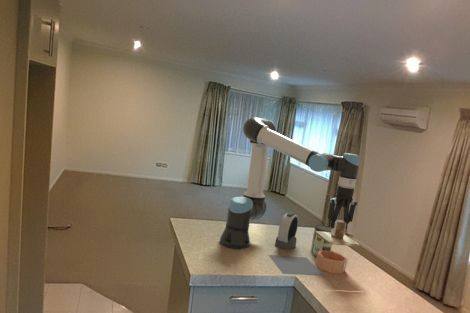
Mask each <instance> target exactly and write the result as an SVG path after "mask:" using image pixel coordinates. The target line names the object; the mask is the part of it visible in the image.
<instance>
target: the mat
mask: <svg viewBox="0 0 470 313" xmlns="http://www.w3.org/2000/svg"><path fill="white" fill-rule="evenodd" d="M268 257H269V258H270V259H271V261H272V262H273V263H274V264H275V265H276V267H277V268H278V270H280V272H281V273H282V274H284V275H300V276H301V275H302V276H303V275H304V276H321V277H322V276H323V277H326V276H325V274H324V273H323V272H321V269H319V268H317V266H316V265H315V264H313V262H312V261H311V260H310V259H309V258H308V257H304V256H291V255H290V256H289V255H274V254H268Z"/></svg>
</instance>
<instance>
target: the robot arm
mask: <svg viewBox="0 0 470 313" xmlns="http://www.w3.org/2000/svg"><path fill="white" fill-rule="evenodd" d="M242 131H243V134H244V136H245V137H246V138H247V139H248V140H249V145H250V146H251V154H250V162H249V169H248V170H249V172H248V180H247V187H246V191H244V192H243V196H234V197H232V198H231V199H230V201H229V202H228V203H229V204H228V209H227V216H226V223H225V227H224V229H223V232H222V233H221V235H220V238H219V243H220V244H221V245H222V246H224V247H227V248H229V249H233V250H234V249H236V250H242V249H243V250H245V249H248V248H249V247H250V244H251V241H250V233H249V228H250V223H251V222H253V221H255V220H256V221H257V220H259V219H261V218H263V217H264V216H265V215H266V213H267V210H268V204H267V202H266V195H265V194H264V186H265V178H266V171H267V170H266V169H267V161H268V152H269V148H271V149H274V150H275V151H277V152H279V153H281V154H284V155H285V156H287V157H289V158H291V159H293V160H296V161H297V162H299V163H301V164H304V165H305V166H307V167H308V168H310V169H311V171H313V172H317V173H320V172H324V171H331V172H337V173H339V179H338V181H337V184H338V186H337V187H336V188H337V189H336V195H335V197H333V198H332V197H329V209H328V216H327V218H328V220H330V227H331V228H332V229H331V234H332V235H333V236H335V232H336V227H337V222H336V220H338V216H339V214H340V212H341V209H342V208H343V221H344V222H345V223H346V225H345V230H344V234H345V233H346V232H345V231H346V230H347V228H348V225H349V223H352V222H353V220H354V219H353V218H354V216H355V215H354V214H355V210H356V206H357V205H358V201H357V200H356V201H355V200H353V197H354V193H355V189H354V188H355V187H356V184H357V182H356V181H357V178H358V177H357V176H358V171H359V167H360V161H361V159H360V158H361V157H360V155H359V154H354V153H349V152H344V153H343V155H342V156H340V155H337V154H336V155H335V154H332V153H331V154H330V153H326V152H318V151H315V150H314V149H312V148H309V147H307V146H305V145H303V144H301V143H299V142H297V141H295V140H293V139H291V138H289V137H287V136H285V135H282V134H281V133H279V132H277V131H278V129H277V126H276V124H275V123H274V122H273V120H270V119H268V118H263V117H258V116H257V117H255V116H253V117H250V118H248V119H247V120H245V122H244V123H243V126H242ZM343 236H344V235H343Z"/></svg>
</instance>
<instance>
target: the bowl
mask: <svg viewBox="0 0 470 313" xmlns="http://www.w3.org/2000/svg"><path fill="white" fill-rule="evenodd" d="M315 260H316V261H315V266H316V267H318V269H319V270H322V271H325V272H329V273H331V274H343V273H344V272H346V269H347V264H348V258H347V257H346V256H345V255H344V254H342V253H339V252H336V251H334V250H331V251H327V250H321V251H319V252H318V254H317V256H316V259H315Z"/></svg>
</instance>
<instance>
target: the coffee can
mask: <svg viewBox="0 0 470 313" xmlns="http://www.w3.org/2000/svg"><path fill="white" fill-rule="evenodd" d="M331 229H332V228H331V226H328V225H327V226H326V225H322V224H317V225H316V224H315V225H314V231H313V236H312V237H313V238H312V240H311V241H312V242H311V247H310V253H311V254H312V255H314V256H316V257H317V254H318V252H319V251H321V250H327V251H332V248H333V247H332V246H333V245H331V244H328V243H327V242H326V241H325V240H323V239H322V238H321V237H319V236H318V235H317V234H316V233H315V231H321V232H331Z"/></svg>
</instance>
